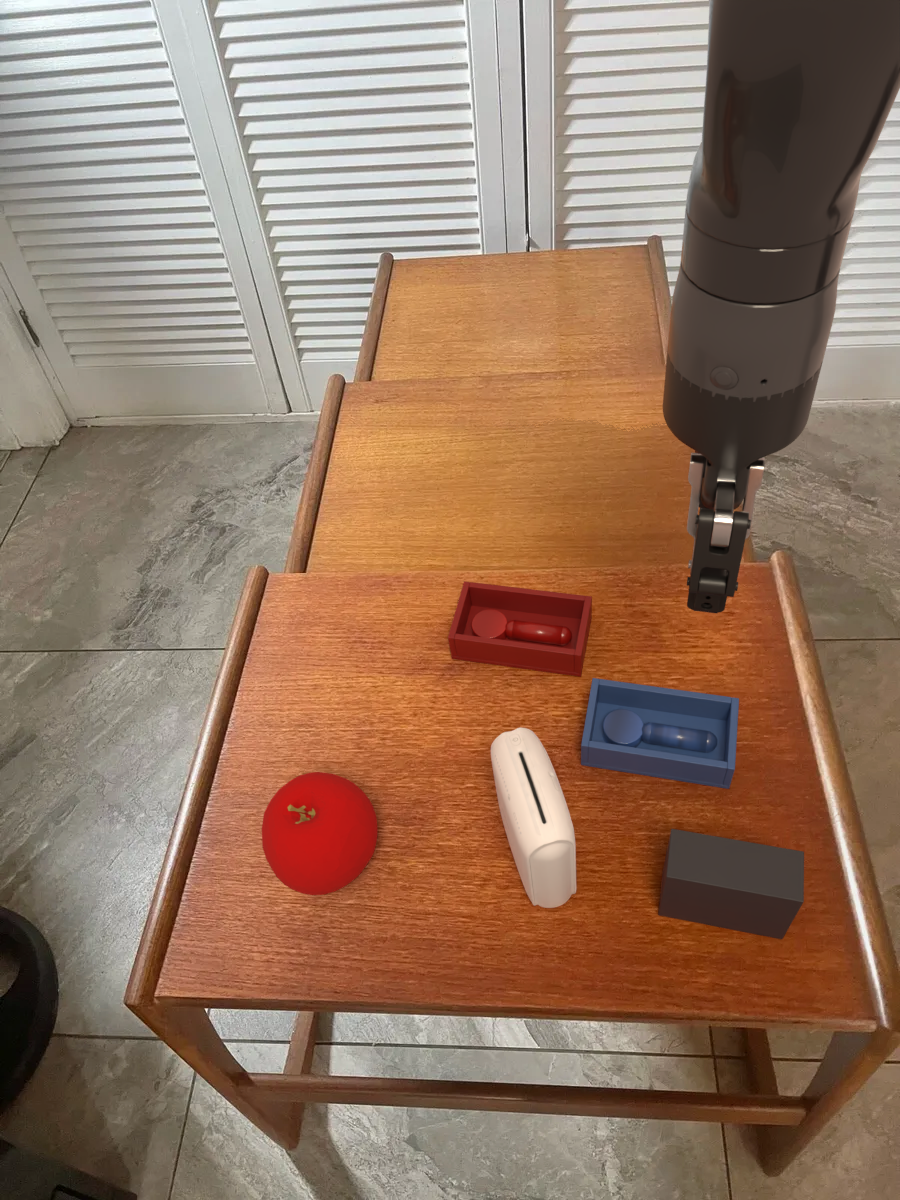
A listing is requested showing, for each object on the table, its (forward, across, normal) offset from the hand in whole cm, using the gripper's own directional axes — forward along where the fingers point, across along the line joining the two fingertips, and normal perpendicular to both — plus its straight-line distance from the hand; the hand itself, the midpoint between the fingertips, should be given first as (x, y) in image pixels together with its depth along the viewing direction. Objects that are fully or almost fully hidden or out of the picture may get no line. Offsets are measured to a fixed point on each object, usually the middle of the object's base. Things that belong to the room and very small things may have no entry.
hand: (709, 554), depth 58 cm
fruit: (+25, -15, +27) cm, 40 cm away
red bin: (+25, +9, +15) cm, 30 cm away
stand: (+25, -13, -4) cm, 29 cm away
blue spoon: (+24, 0, +2) cm, 25 cm away
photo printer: (+25, -11, +10) cm, 29 cm away
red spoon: (+24, +9, +15) cm, 30 cm away
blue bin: (+25, 0, +2) cm, 25 cm away
